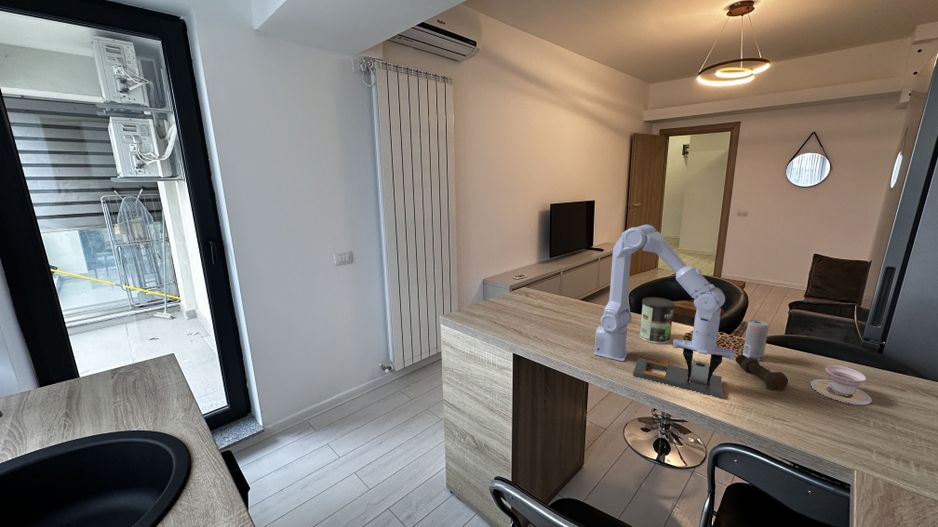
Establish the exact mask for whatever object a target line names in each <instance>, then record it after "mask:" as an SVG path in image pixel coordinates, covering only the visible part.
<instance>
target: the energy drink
mask: <svg viewBox="0 0 938 527" xmlns="http://www.w3.org/2000/svg"><path fill="white" fill-rule="evenodd" d="M769 329H770V326H769V323H767V321H763V320H759V319H750V320H749V321H748V322H747V326H746V332H745V338H744V343H743V344H744V345H743V349H742V350H743V351H742V355H744V356H746V357H748V358H749V357H750V358H755V359H757V360H758V362H759V361H762V360H763V359H764V355H765V351H766V344H767V339H768V334H769Z"/></svg>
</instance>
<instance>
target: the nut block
mask: <svg viewBox="0 0 938 527" xmlns="http://www.w3.org/2000/svg"><path fill="white" fill-rule="evenodd" d="M709 366H710V362H705V361H701V360H695V359H692V370H691V376H690V378H689V382H693V383H697V384H701V385H705V386H708V382H707V379H708V373H709Z"/></svg>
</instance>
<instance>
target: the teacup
mask: <svg viewBox="0 0 938 527" xmlns="http://www.w3.org/2000/svg"><path fill="white" fill-rule="evenodd" d="M825 372H826V373H827V377H828V378H829V379H813V380H811V381H810V386H812V387H811V388H812V389H813V390H814V391H815V390H816V391H815V392H817V393H818V392H819V393H818V394H820V395H822V396H824V397H827V398H828V397H829V399H831V398H832V400H834V401H836V400H838V401H837V402H840V401H841V402H840V403H843V404H848V403H849V404H850V405H853V406H867V405H870V404H871V403H872V401H873V400H872V397H871V396H870V395H869V394H868V393H866V392H865V391H863V390H862V389H859V388H858V387H859V386H860V385H861V384H863V383H865V382H866V381H867V376H866V375H864V374H863V373H861V372H860V371H859V370H855V369H853V368H850V367H847V366H843V365H836V364H832V365H831V364H830V365H826V367H825ZM820 381H829V383H828V386H829V387H830V389H831V390H833V391H834V392H835V393H834V392H833V391H832V392H833V393H834V394H836V393H838V394H841V395H840V396H842V395H849V396H850V395H851V394H855V393H856V389H857V390H860V391H861V393H863V394H864V395H865V396H866V398H867V399H866V401H865V402H862V403H852V402H846V401H842V400H839V399H835V398H833V397H830V396H828V395H826V394H824V393H822V392H820V391H819V390H817V389H816V387H815V383H816V382H820ZM838 394H837V395H838ZM849 404H848V405H849Z"/></svg>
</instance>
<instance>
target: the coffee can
mask: <svg viewBox="0 0 938 527" xmlns="http://www.w3.org/2000/svg"><path fill="white" fill-rule="evenodd" d="M674 307H675V302H674V301H672V300H671V299H667V298H663V297H655V296H651V297H643V298H642V308H641V316H640V317H641V318H640V328H639V338H641V340H643V341H645V342H648V343H651V344H655V345H658V344H659V345H663V344H669V343H670V342H671V334H672V332H671V331H672V327H673V326H672V325H673V317H674V310H675V309H674Z"/></svg>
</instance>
